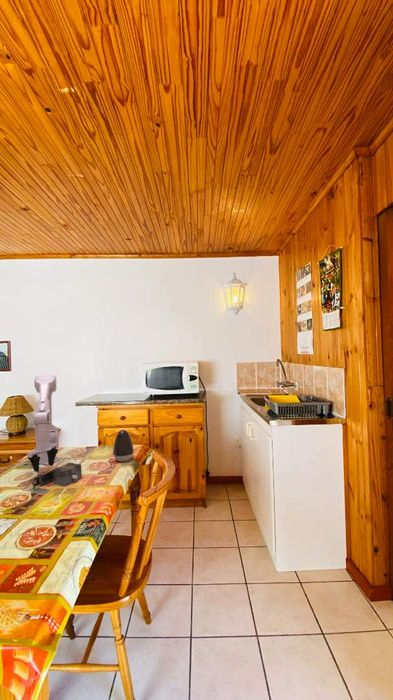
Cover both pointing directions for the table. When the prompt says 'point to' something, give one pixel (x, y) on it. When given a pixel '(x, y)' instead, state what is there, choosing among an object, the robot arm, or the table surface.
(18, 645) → the table surface
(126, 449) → the black egg-shaped speaker
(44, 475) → the gauge plunger
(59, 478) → the gauge frame
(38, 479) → the electric trimmer
